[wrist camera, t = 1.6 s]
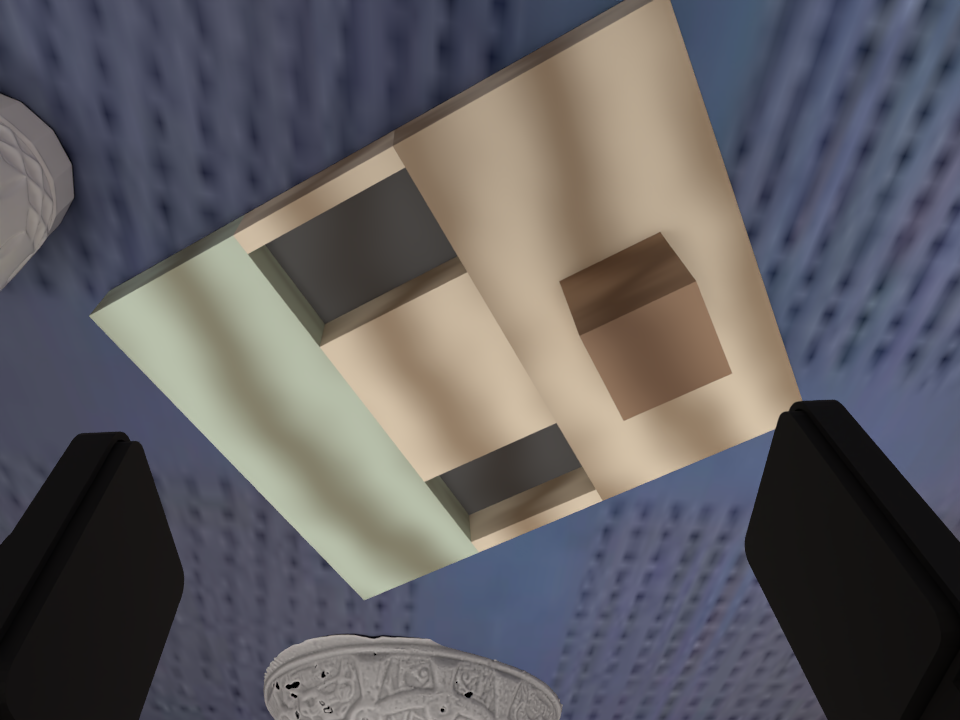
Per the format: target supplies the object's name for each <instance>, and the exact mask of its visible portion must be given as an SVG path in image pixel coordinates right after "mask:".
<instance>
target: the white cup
mask: <svg viewBox="0 0 960 720" xmlns="http://www.w3.org/2000/svg"><path fill="white" fill-rule="evenodd" d="M73 199H74V188H73V173H72V164H71V162H70V160H69V158H68V156H67V155H66V153H65V151H64V149H63V147H62V146H61V144H60V142H59V140H58V138H57V136H56V135H55V133H54V131H53V130H52V129H51V128H50V127H49V126H48V125H46V124H45V123H44V122H43V121H42V120H41V119H40V118H39V117H37V116H36V115H35V114H34V113H33V112H32V111H31V110H29V109H28V108H27V107H26V106H25V105H24V104H23V103H21V102H20V101H17V100H15V99H12V98H10V97H7V96H5V95H2V94H0V292H1V290H2V289H3V288H4V287H5V286H6V285H7V284H8V283H9V282H10V281H11V280H12V279H13V278H14V277H15V276H16V275H17V274H18V272H19V271H20V270H21V269H22V268H23V267H24V265H25V264H26V263H27V262H28V261H29V260H30V259H31V258H32V256H33V255H34V254H35V253H36V252H37V251H38V249H39V248H40V247H41V246H42V244H43V243H44V241H45V240H46V238H47V237H48V236H49V235H50V234H51V233H52V232H53V231H54V230H55V229H56V228H57V227H58V226H59V225H60V223H61V222H62V220H63V218H64V216H65V214H66V212H67V210H68V208H69V206H70V205H71V203H72V201H73Z"/></svg>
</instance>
